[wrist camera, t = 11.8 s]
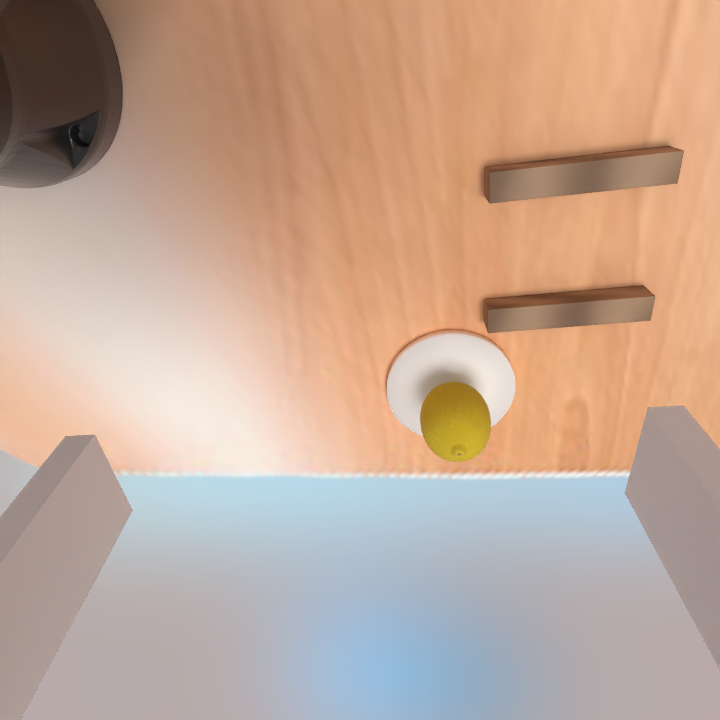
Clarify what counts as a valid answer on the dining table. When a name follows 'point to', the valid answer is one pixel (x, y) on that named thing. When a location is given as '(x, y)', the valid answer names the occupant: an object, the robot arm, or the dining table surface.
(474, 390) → the lemon
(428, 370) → the saucer
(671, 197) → the dining table surface
